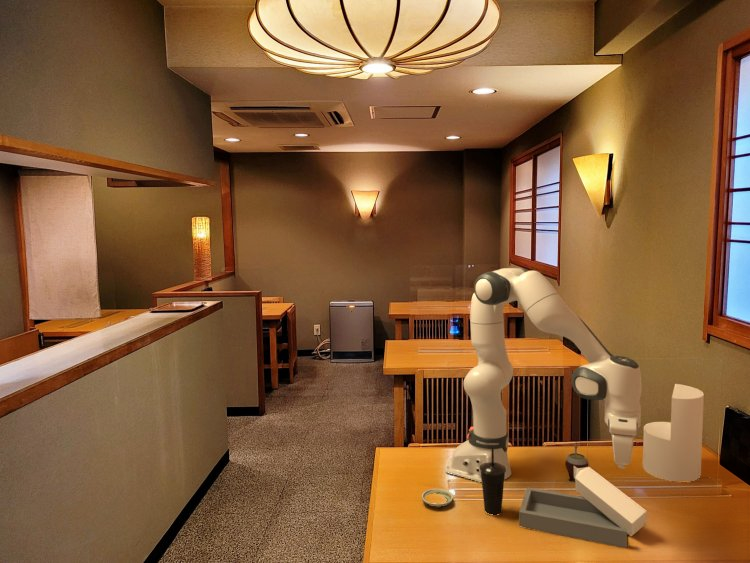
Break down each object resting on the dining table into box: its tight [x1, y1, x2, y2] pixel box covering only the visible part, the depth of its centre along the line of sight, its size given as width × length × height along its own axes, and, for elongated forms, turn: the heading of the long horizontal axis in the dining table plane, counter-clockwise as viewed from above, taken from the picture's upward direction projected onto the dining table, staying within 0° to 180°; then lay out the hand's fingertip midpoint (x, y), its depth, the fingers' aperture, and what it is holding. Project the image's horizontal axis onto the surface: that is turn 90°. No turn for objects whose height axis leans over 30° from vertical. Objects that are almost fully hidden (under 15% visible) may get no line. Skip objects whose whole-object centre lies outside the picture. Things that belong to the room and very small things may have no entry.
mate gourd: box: [565, 442, 589, 482], centre depth 176 cm, size 8×8×15 cm
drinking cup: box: [480, 447, 506, 516], centre depth 158 cm, size 8×8×20 cm
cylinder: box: [642, 383, 705, 482], centre depth 180 cm, size 17×17×28 cm
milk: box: [574, 466, 648, 537], centre depth 152 cm, size 6×6×22 cm
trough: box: [518, 486, 628, 549], centre depth 152 cm, size 28×15×4 cm, turn 66°
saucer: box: [421, 488, 454, 508], centre depth 165 cm, size 10×10×2 cm
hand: (621, 466), depth 145 cm, fingers closed
